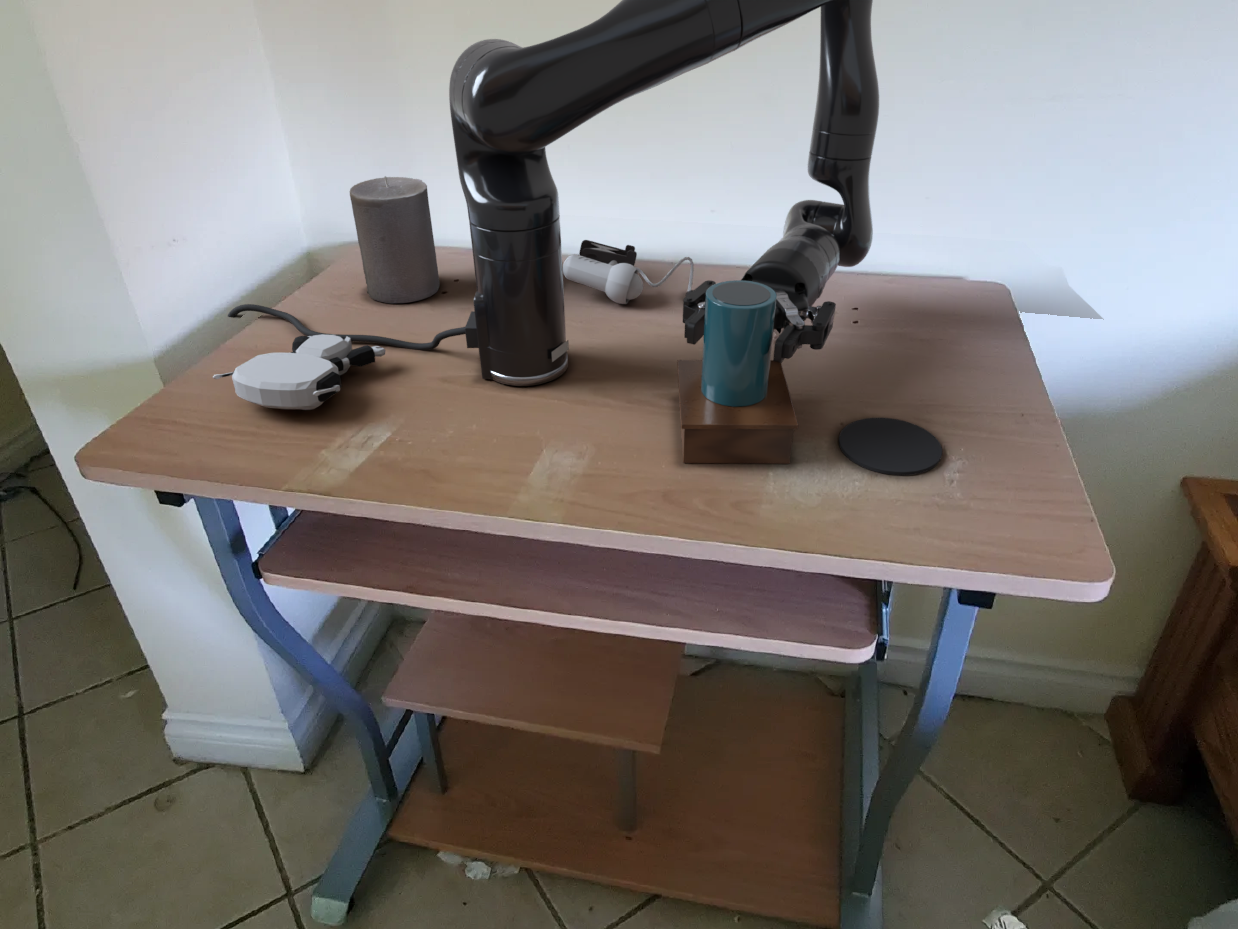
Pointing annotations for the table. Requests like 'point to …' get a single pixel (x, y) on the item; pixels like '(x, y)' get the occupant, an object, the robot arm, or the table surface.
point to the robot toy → (300, 372)
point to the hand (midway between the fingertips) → (733, 343)
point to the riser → (735, 422)
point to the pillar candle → (395, 239)
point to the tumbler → (737, 342)
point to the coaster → (890, 446)
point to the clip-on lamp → (612, 271)
